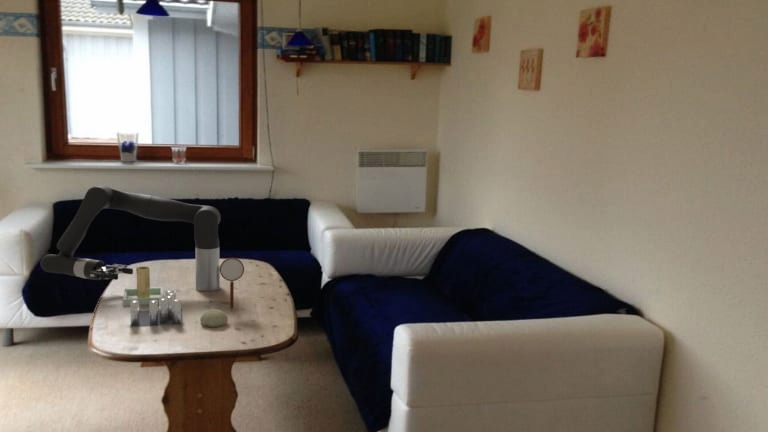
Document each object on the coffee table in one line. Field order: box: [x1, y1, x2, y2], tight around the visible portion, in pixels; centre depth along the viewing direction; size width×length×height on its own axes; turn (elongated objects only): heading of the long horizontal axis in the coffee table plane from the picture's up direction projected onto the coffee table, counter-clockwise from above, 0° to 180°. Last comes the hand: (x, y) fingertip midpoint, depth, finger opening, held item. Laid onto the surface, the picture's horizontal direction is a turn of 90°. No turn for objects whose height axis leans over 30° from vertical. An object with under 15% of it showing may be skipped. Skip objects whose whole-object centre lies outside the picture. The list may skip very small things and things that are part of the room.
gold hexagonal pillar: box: [136, 266, 151, 298], centre depth 260 cm, size 5×4×12 cm
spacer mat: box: [129, 308, 184, 328], centre depth 242 cm, size 17×17×1 cm
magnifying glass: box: [219, 257, 245, 312], centre depth 253 cm, size 9×2×20 cm, turn 102°
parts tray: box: [122, 286, 164, 307], centre depth 261 cm, size 14×14×3 cm
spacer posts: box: [129, 289, 182, 326], centre depth 240 cm, size 16×14×8 cm
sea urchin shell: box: [199, 308, 229, 328], centre depth 240 cm, size 9×8×8 cm
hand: (125, 274), depth 262 cm, fingers open, 8 cm apart
